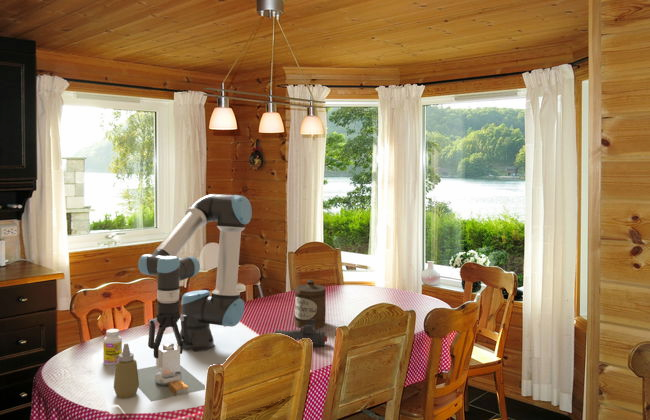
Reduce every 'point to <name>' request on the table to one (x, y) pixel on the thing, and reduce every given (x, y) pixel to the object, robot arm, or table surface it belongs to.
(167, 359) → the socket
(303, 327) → the laser sight
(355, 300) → the table surface
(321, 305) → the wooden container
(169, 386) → the grey copper fixture base
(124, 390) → the squeeze bottle
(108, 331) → the supplement bottle
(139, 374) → the mat
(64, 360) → the table surface
